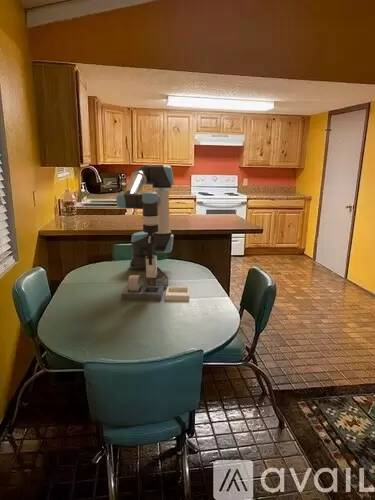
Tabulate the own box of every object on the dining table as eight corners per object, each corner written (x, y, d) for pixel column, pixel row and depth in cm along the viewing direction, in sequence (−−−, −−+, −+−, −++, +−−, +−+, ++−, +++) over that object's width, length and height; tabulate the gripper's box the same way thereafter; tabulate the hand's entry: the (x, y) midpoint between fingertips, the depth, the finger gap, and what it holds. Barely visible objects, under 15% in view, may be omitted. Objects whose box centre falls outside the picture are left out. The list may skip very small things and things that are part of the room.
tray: (167, 291, 182) (167, 286, 181) (189, 291, 182) (189, 286, 181) (165, 300, 171) (165, 295, 170) (189, 300, 170) (189, 295, 170)
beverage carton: (154, 289, 185) (154, 278, 183) (145, 278, 202) (145, 267, 201) (168, 287, 188) (168, 276, 186) (158, 276, 205) (158, 266, 203)
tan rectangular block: (147, 274, 176) (147, 255, 174) (157, 274, 176) (156, 255, 174) (146, 277, 172) (145, 258, 169) (156, 277, 172) (155, 258, 169)
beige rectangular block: (130, 293, 179) (130, 275, 176) (140, 293, 179) (139, 275, 176) (129, 296, 174) (128, 278, 172) (138, 296, 174) (138, 278, 172)
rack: (126, 290, 182) (126, 285, 182) (163, 291, 182) (163, 285, 181) (121, 299, 171) (121, 293, 170) (161, 300, 171) (161, 294, 170)
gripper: (145, 220, 175) (146, 263, 182) (140, 227, 158) (141, 274, 164) (160, 220, 175) (160, 263, 182) (156, 227, 158) (157, 275, 164)
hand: (151, 268), depth 173 cm, fingers closed on tan rectangular block, 5 cm apart
